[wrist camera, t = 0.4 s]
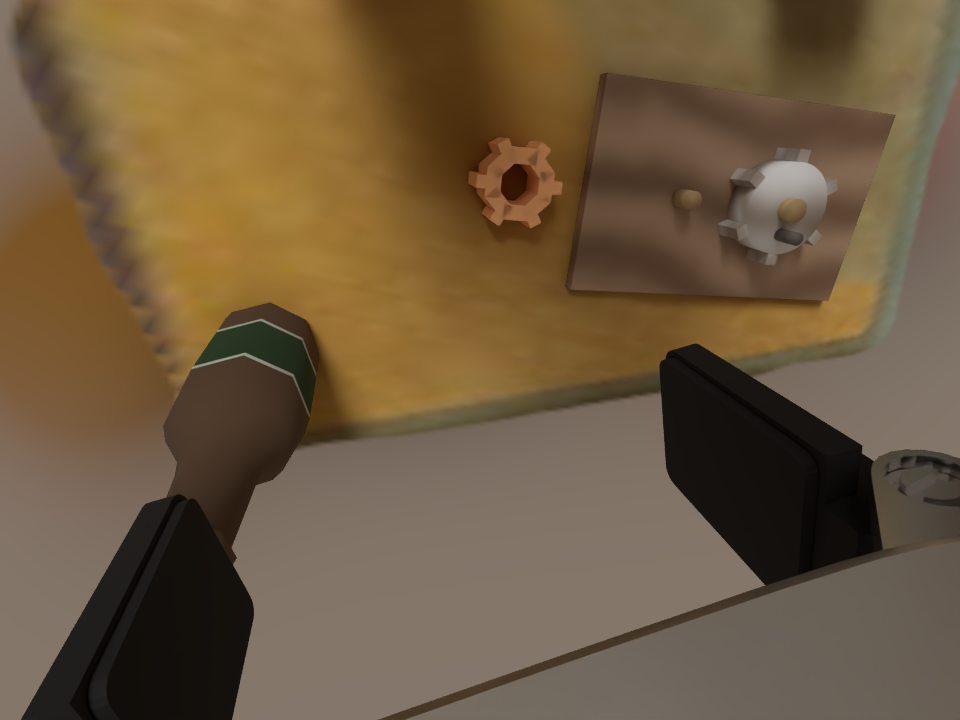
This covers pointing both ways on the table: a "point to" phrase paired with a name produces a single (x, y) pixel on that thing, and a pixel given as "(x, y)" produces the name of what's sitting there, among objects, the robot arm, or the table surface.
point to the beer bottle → (242, 413)
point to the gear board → (719, 191)
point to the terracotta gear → (536, 187)
